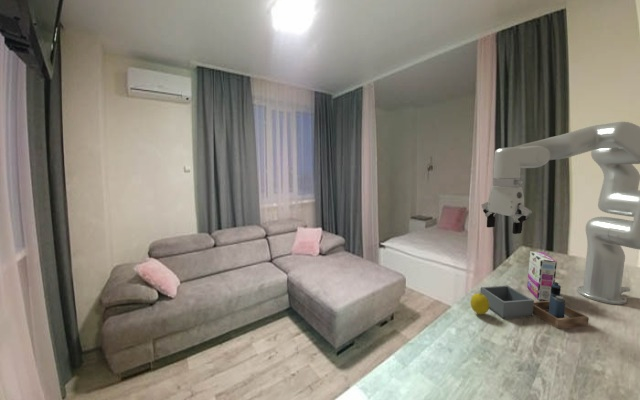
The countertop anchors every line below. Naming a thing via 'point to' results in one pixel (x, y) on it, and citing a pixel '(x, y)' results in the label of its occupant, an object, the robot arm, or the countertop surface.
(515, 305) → the bin
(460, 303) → the countertop surface
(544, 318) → the brown wooden square frame
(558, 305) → the vaping device
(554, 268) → the candy bar box
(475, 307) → the lemon
